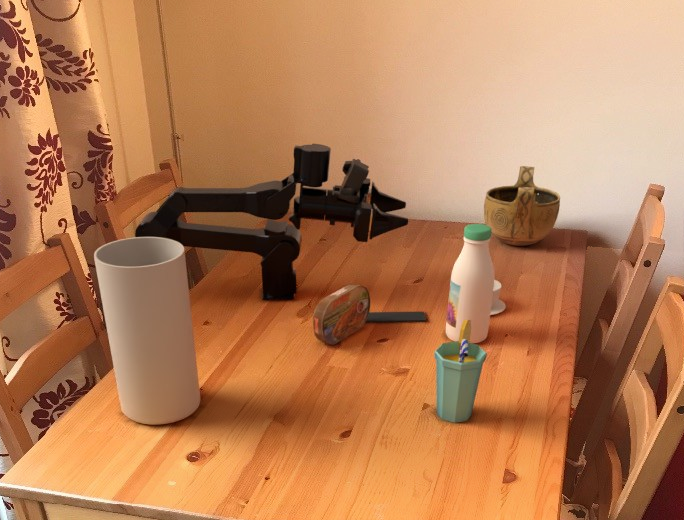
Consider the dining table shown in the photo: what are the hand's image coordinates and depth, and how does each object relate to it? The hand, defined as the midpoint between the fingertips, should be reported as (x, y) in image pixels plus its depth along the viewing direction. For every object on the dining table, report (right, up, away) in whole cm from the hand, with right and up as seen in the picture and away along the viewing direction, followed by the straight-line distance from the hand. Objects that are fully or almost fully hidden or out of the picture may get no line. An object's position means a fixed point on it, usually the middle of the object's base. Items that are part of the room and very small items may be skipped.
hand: (406, 213), depth 152 cm
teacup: (+15, -17, +5) cm, 23 cm away
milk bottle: (+10, -25, -5) cm, 27 cm away
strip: (-2, -20, +1) cm, 20 cm away
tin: (-13, -24, -5) cm, 28 cm away
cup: (+4, -42, -29) cm, 51 cm away
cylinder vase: (-42, -40, -26) cm, 64 cm away
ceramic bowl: (+30, +6, +36) cm, 47 cm away
